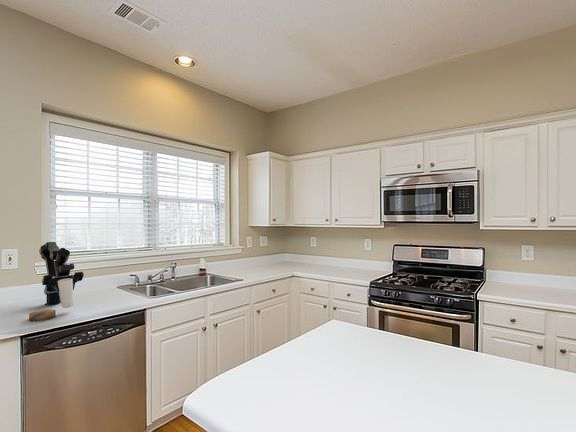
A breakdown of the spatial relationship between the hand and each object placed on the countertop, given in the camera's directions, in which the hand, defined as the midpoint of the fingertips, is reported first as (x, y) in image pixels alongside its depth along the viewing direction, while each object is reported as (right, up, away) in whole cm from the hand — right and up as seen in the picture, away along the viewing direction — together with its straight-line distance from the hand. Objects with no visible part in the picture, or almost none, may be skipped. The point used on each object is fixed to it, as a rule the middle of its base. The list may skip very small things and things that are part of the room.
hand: (66, 290), depth 178 cm
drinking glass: (0, -9, +2) cm, 10 cm away
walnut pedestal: (-6, -12, -9) cm, 16 cm away
